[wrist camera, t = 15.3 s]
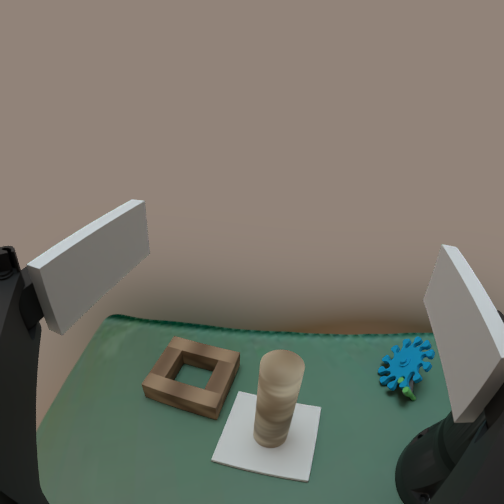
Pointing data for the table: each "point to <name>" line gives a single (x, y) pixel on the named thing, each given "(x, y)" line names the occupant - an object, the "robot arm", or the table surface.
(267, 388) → the dowel
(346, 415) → the table surface
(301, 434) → the pad
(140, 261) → the robot arm
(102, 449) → the table surface
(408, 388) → the gear
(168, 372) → the pocket block
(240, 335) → the table surface
